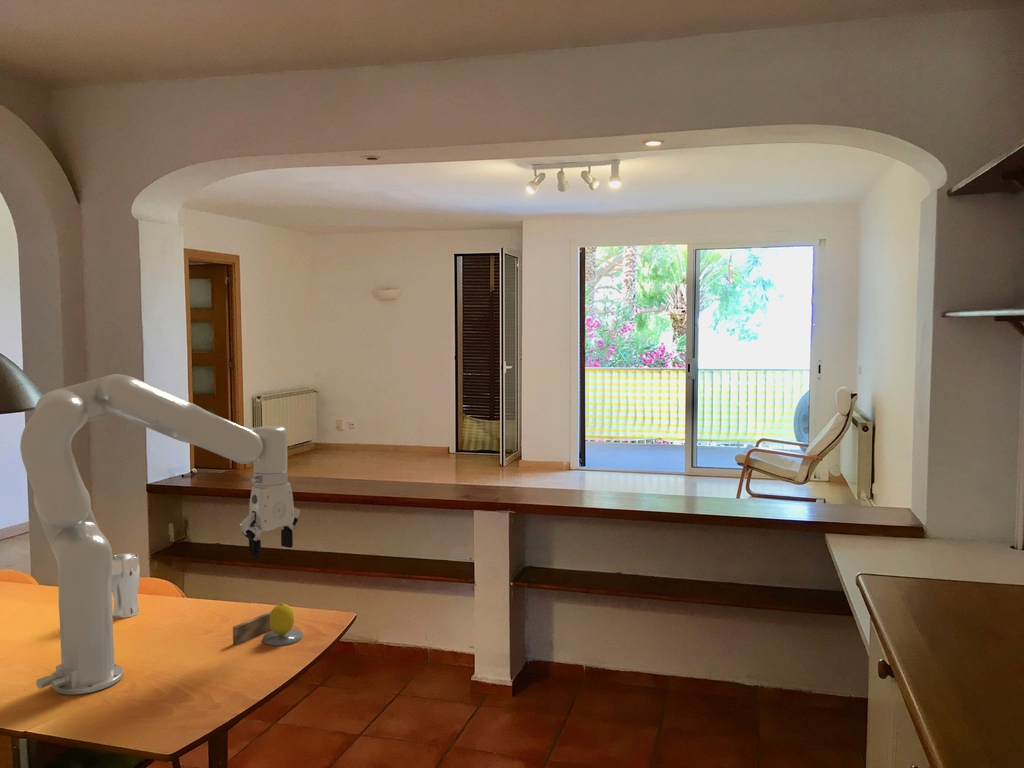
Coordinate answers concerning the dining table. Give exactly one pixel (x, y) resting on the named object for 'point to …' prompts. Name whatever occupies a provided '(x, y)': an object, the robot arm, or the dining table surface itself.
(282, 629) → the lemon
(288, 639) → the coaster
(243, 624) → the walnut wall
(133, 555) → the beer glass
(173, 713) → the dining table surface
